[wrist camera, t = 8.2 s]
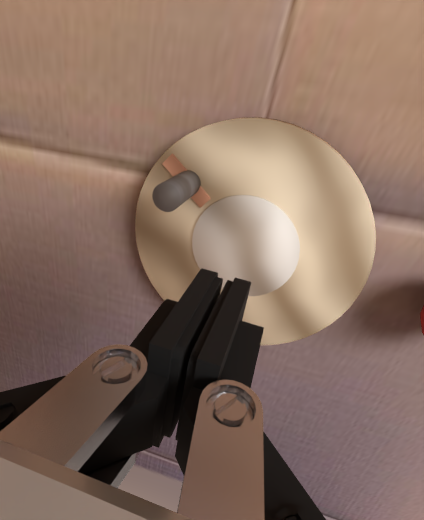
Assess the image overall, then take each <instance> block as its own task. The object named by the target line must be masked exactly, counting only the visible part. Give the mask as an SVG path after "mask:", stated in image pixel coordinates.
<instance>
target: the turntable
mask: <svg viewBox="0 0 424 520" xmlns="http://www.w3.org/2000/svg"><path fill="white" fill-rule="evenodd" d="M135 234H136V242H137V248H138V252H139V256H140V259H141V262H142V264H143V267H144V270H145V272H146V274H147V276H148V278H149V280H150V282H151V283H152V285H153V286H154V288H155V289H156V291H157V292H158V294H159V295H160V296H161V297H162V298H163V300H164V301H165V300H166V299H170V300H173V301H177V302H178V301H179V300H180V298H181V297H182V295H183V294H184V292H185V291H186V290H187V288H188V287H189V285H190V284H191V282H192V281H193V279H194V278H195V277H196V275H197V274H198V272H199V271H200V269H201V268H203V269H206V270H210V271H214V272H217V273H218V277H219V278H223V283H222V288H221V292H222V290H223V288H224V286H225V284H226V282H227V280H230V281H233V280H234V278H239V279H243V280H246V281H250V282H251V286H250V291H249V295H248V299H247V303H246V307H245V311H244V315H243V319H242V321H244V322H247V323H251V324H254V325H258V326H261V327H264V330H263V335H262V339H261V343H260V345H275V344H282V343H288V342H292V341H296V340H299V339H303V338H305V337H308V336H310V335H312V334H315V333H317V332H319V331H320V330H322V329H324V328H325V327H327V326H329V325H330V324H332V323H333V322H334V321H335V320H337V319H338V318H339V317H341V316H342V315H343V314H344V313H345V312H346V310H347V309H348V308H349V307H350V306H351V305H352V304H353V303H354V301H355V300H356V298H357V297H358V296H359V294H360V293H361V291H362V289H363V287H364V285H365V283H366V282H367V279H368V276H369V274H370V271H371V268H372V264H373V259H374V254H375V243H376V231H375V222H374V216H373V212H372V209H371V205H370V201H369V199H368V197H367V195H366V192H365V190H364V188H363V186H362V184H361V182H360V180H359V179H358V177H357V176H356V174H355V172H354V171H353V169H352V168H351V166H350V165H349V164H348V163H347V161H346V160H345V159H344V158H343V157H342V156H341V155H340V153H339V152H337V151H336V150H335V149H334V148H333V147H332V146H330V145H329V144H328V143H327V142H326V141H324V140H323V139H321V138H319V137H318V136H316V135H315V134H313V133H312V132H310V131H308V130H305V129H303V128H301V127H298V126H296V125H294V124H290V123H287V122H283V121H280V120H275V119H268V118H260V117H255V118H237V119H231V120H225V121H220V122H217V123H214V124H210V125H207V126H204V127H202V128H200V129H198V130H196V131H194V132H191V133H189V134H188V135H186V136H185V137H183V138H182V139H180V140H179V141H177V142H176V143H175V144H173V145H172V146H171V147H170V148H169V149H168V150H167V151H166V152H165V153H164V154H163V155H162V156H161V157H160V158H159V160H158V161H157V162H156V163H155V165H154V166H153V168H152V169H151V171H150V173H149V174H148V176H147V178H146V180H145V182H144V184H143V187H142V189H141V192H140V195H139V199H138V203H137V209H136V216H135ZM220 294H221V293H220Z"/></svg>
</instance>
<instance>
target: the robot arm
mask: <svg viewBox="0 0 424 520" xmlns="http://www.w3.org/2000/svg"><path fill="white" fill-rule="evenodd" d="M222 283H223V278H219V277H218V273H217V272H214V271H210V270H206V269H203V268H201V269H200V271H199V272H198V274H197V275H196V277H195V278H194V279H193V281H192V282H191V284H190V285H189V287H188V288H187V290H186V291H185V292H184V294H183V295H182V297H181V298H180V300H179V301H178V302H177V301H173V300H170V299H166V300H165V301H164V302H163V303H162V304H161V306H160V307H159V308H158V310H157V311H156V312H155V314H154V315H153V316H152V318H151V319H150V320H149V321H148V323H147V324H146V325H145V327H144V328H143V329H142V331H141V332H140V333H139V334H138V336H137V337H136V338H135V340H134V341H133V342H132V344H131V345H130V346H128V345H110V346H106V347H104V348H101V349H99V350H97V351H96V352H94V353H93V354H92V355H90V356H89V357H88V358H87V359H86V360H84V361H83V362H82V363H81V364H80V365H79V366H77V367H76V368H75V369H74V370H73V371H71V372H70V373H69V374H68V375H67V376H63V377H59V378H55V379H51V380H47V381H43V382H39V383H35V384H31V385H27V386H23V387H19V388H15V389H12V390H8V391H4V392H0V520H326V519H325V518H324V516H323V515H322V513H321V512H320V511H319V509H318V508H317V506H316V505H315V504H314V502H313V501H312V499H311V498H310V497H309V495H308V494H307V492H306V491H305V489H304V488H303V487H302V485H301V484H300V482H299V481H298V480H297V478H296V477H295V475H294V474H293V472H292V471H291V470H290V468H289V467H288V465H287V464H286V463H285V461H284V460H283V458H282V457H281V456H280V454H279V453H278V451H277V450H276V448H275V447H274V446H273V444H272V443H271V441H270V440H269V439H268V437H267V436H266V434H265V433H264V432H263V409H262V404H261V402H260V400H259V398H258V396H257V395H256V394H255V393H254V392H253V391H252V390H251V389H250V387H251V383H252V379H253V374H254V370H255V365H256V361H257V357H258V352H259V348H260V343H261V339H262V335H263V330H264V327H261V326H258V325H254V324H251V323H247V322H244V321H242V319H243V315H244V311H245V307H246V303H247V299H248V295H249V291H250V286H251V282H250V281H246V280H243V279H239V278H234V280H233V281H230V280H227V282H226V284H225V286H224V288H223V290H222V292H221V288H222ZM220 293H221V294H220ZM178 420H179V421H178ZM177 422H178V427H177V433H176V440H178V442H177V448H176V454H175V457H176V459H177V461H178V463H179V466H180V468H181V470H182V472H183V475H184V479H183V485H182V489H181V495H180V500H179V505H178V510H177V513H176V512H173V511H171V510H168V509H166V508H164V507H161V506H159V505H156V504H154V503H152V502H149V501H147V500H144V499H142V498H140V497H137V496H135V495H132V494H130V493H127V492H125V491H122V490H120V489H118V486H119V485H120V484H121V482H122V481H123V479H124V478H125V476H126V475H127V473H128V472H129V470H130V469H131V468H132V466H133V465H134V463H135V462H136V460H137V458H138V456H139V452H140V451H143V450H145V449H148V448H150V447H152V445H153V446H156V447H159V446H160V443H161V441H162V439H163V437H164V436H167V437H171V435H172V433H173V431H174V429H175V426H176V424H177Z"/></svg>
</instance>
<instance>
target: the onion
mask: <svg viewBox="0 0 424 520" xmlns="http://www.w3.org/2000/svg"><path fill="white" fill-rule="evenodd" d="M420 317H421V327H422V333H423V335H424V306H423V308H422V310H421V313H420Z"/></svg>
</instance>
